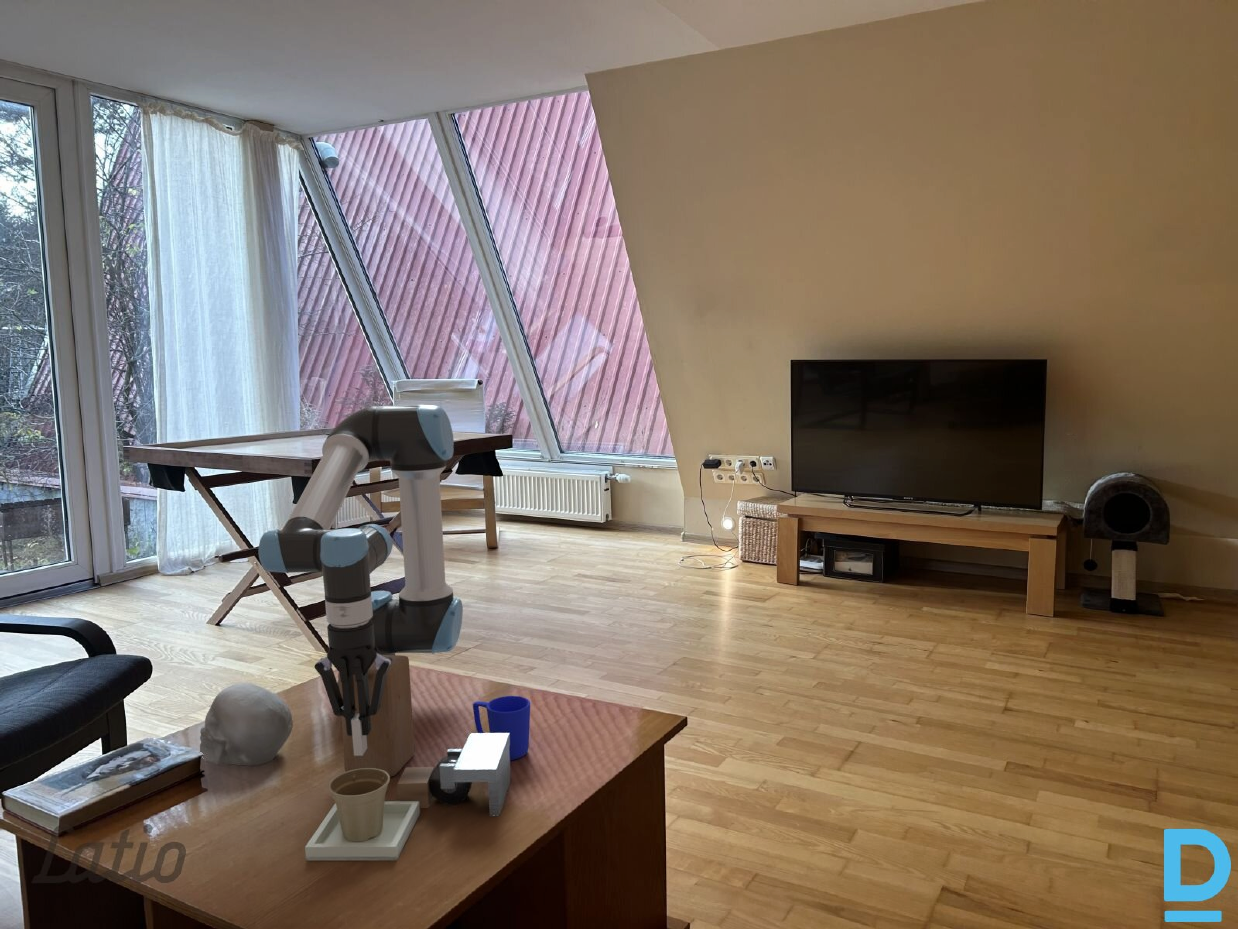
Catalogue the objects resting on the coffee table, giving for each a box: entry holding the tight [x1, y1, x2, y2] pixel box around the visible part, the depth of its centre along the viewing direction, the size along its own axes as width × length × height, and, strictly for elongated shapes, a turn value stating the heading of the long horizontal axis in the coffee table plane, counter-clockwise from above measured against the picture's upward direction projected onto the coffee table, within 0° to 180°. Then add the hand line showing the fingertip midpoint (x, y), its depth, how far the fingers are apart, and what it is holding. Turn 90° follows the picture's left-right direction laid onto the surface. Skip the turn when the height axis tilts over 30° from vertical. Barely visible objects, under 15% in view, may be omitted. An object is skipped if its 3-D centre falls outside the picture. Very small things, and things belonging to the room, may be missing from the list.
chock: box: [397, 766, 435, 809], centre depth 160 cm, size 6×5×4 cm
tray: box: [304, 800, 421, 862], centre depth 149 cm, size 14×14×2 cm
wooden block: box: [337, 654, 415, 778], centre depth 172 cm, size 10×10×20 cm
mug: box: [472, 695, 531, 761], centre depth 177 cm, size 8×12×10 cm
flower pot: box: [328, 768, 391, 841], centre depth 148 cm, size 9×9×9 cm
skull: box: [199, 682, 294, 766], centre depth 178 cm, size 13×18×15 cm
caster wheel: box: [429, 732, 512, 817], centre depth 159 cm, size 14×12×9 cm
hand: (360, 751), depth 161 cm, fingers closed
